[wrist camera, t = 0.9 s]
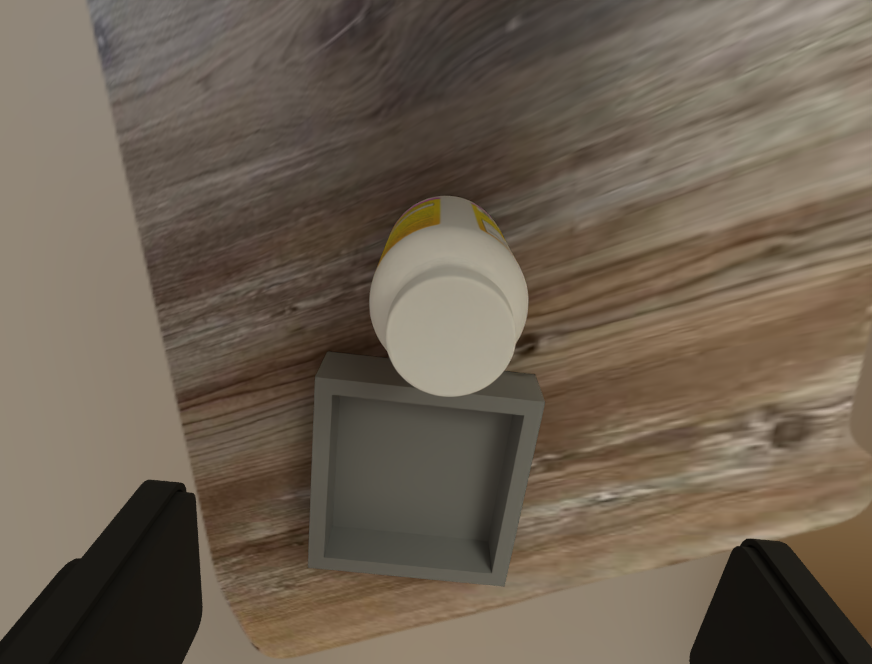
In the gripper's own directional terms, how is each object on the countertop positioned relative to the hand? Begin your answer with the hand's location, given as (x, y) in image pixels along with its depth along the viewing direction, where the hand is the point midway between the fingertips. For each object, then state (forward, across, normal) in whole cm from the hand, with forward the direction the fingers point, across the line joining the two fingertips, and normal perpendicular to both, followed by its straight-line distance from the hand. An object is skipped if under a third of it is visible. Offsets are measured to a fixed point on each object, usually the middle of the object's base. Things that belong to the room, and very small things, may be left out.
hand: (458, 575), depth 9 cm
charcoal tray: (+23, 0, +14) cm, 27 cm away
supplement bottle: (+23, 0, 0) cm, 23 cm away
